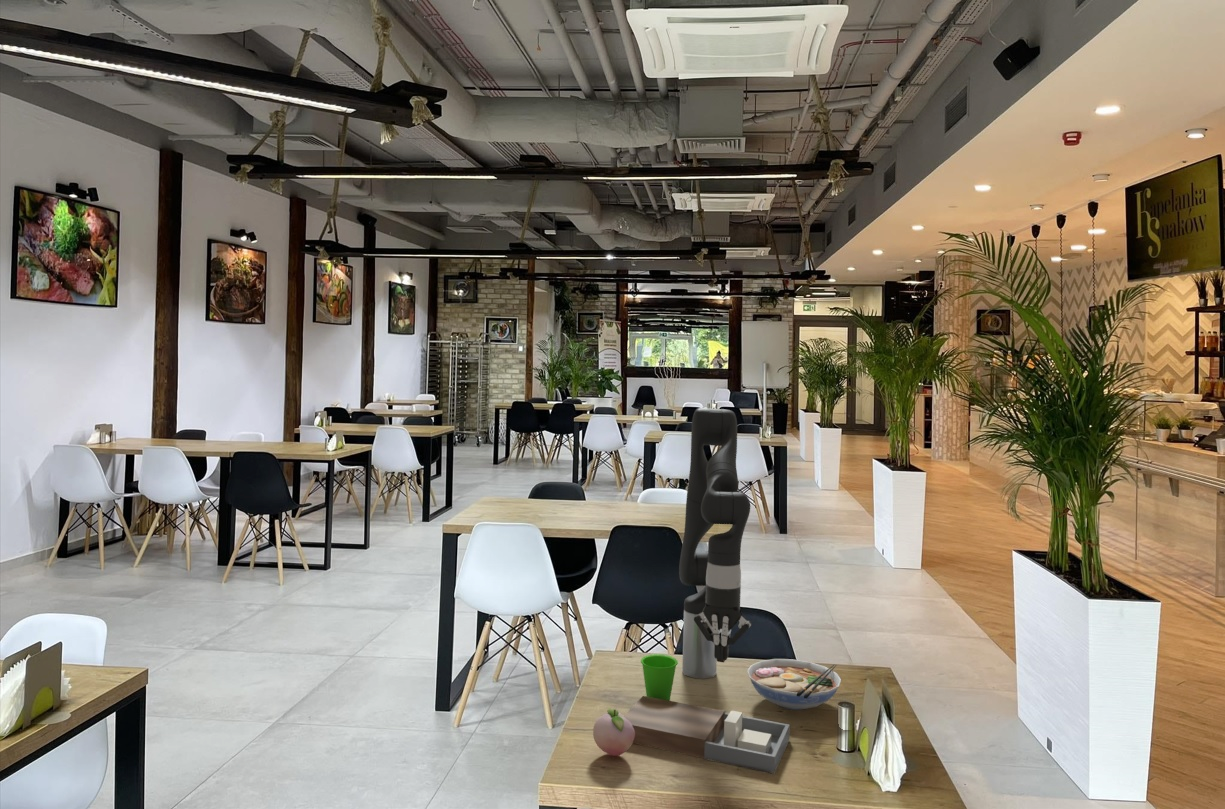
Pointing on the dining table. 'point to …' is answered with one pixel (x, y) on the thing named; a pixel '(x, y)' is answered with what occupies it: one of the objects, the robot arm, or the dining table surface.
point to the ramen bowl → (794, 682)
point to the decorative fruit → (613, 733)
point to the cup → (659, 675)
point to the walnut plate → (674, 725)
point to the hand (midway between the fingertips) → (721, 660)
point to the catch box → (749, 757)
